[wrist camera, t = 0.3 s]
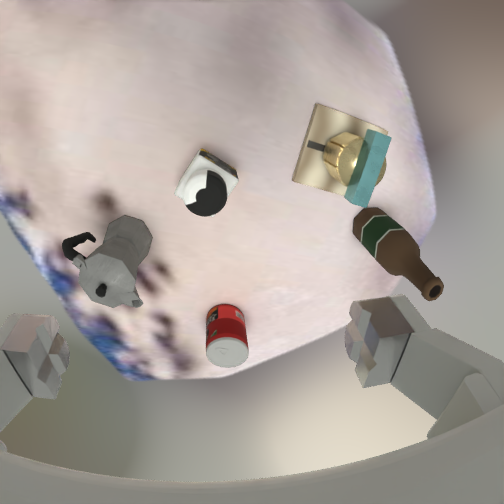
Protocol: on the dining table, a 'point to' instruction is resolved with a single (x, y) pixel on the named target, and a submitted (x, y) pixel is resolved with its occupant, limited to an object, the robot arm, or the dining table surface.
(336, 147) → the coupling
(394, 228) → the beer bottle
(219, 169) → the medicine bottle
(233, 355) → the canned food
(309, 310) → the dining table surface
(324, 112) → the square recessed plate
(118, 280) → the coffeepot
